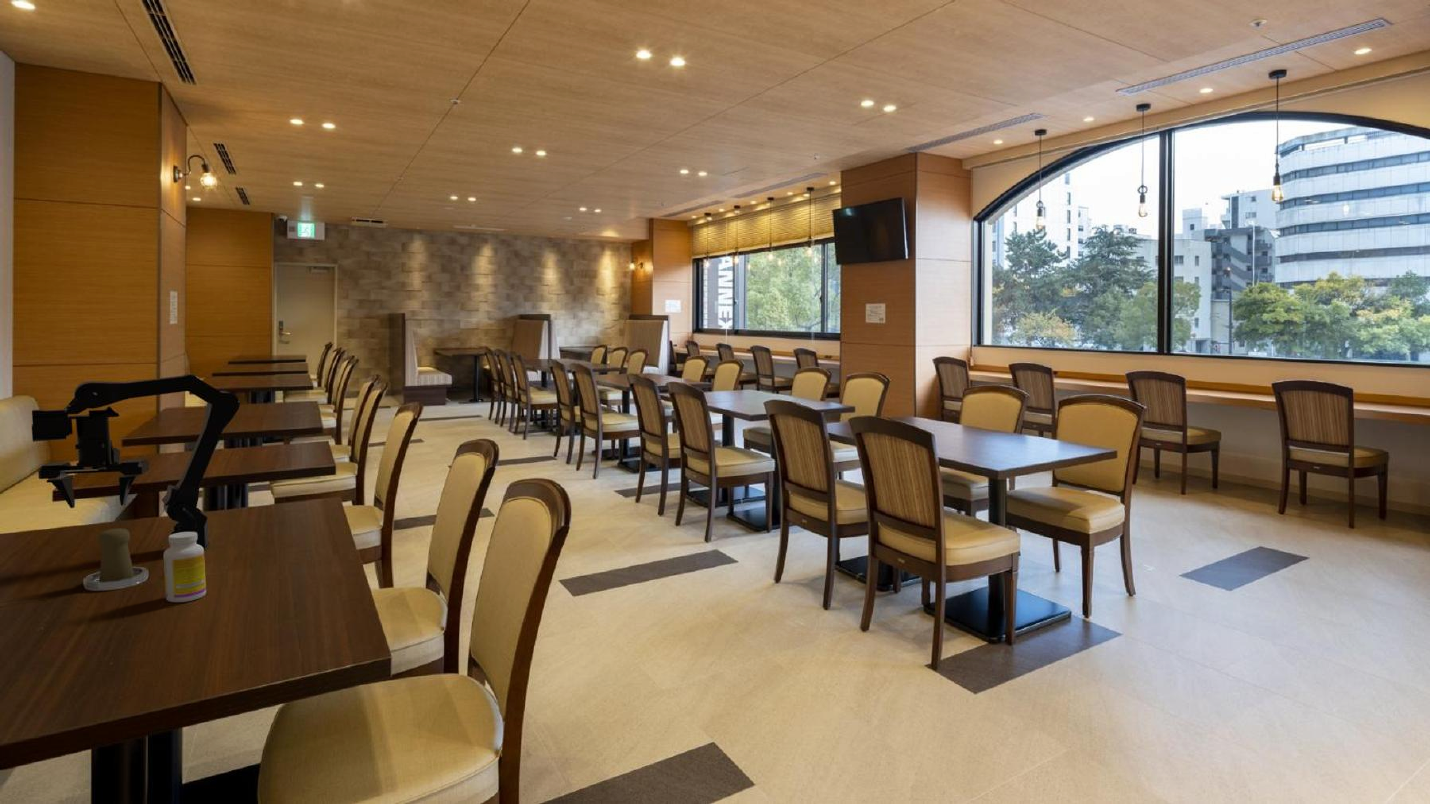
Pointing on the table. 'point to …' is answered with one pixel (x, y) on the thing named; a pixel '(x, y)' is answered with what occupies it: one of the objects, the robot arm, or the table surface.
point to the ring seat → (94, 585)
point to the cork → (115, 555)
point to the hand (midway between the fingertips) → (97, 506)
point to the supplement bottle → (184, 568)
